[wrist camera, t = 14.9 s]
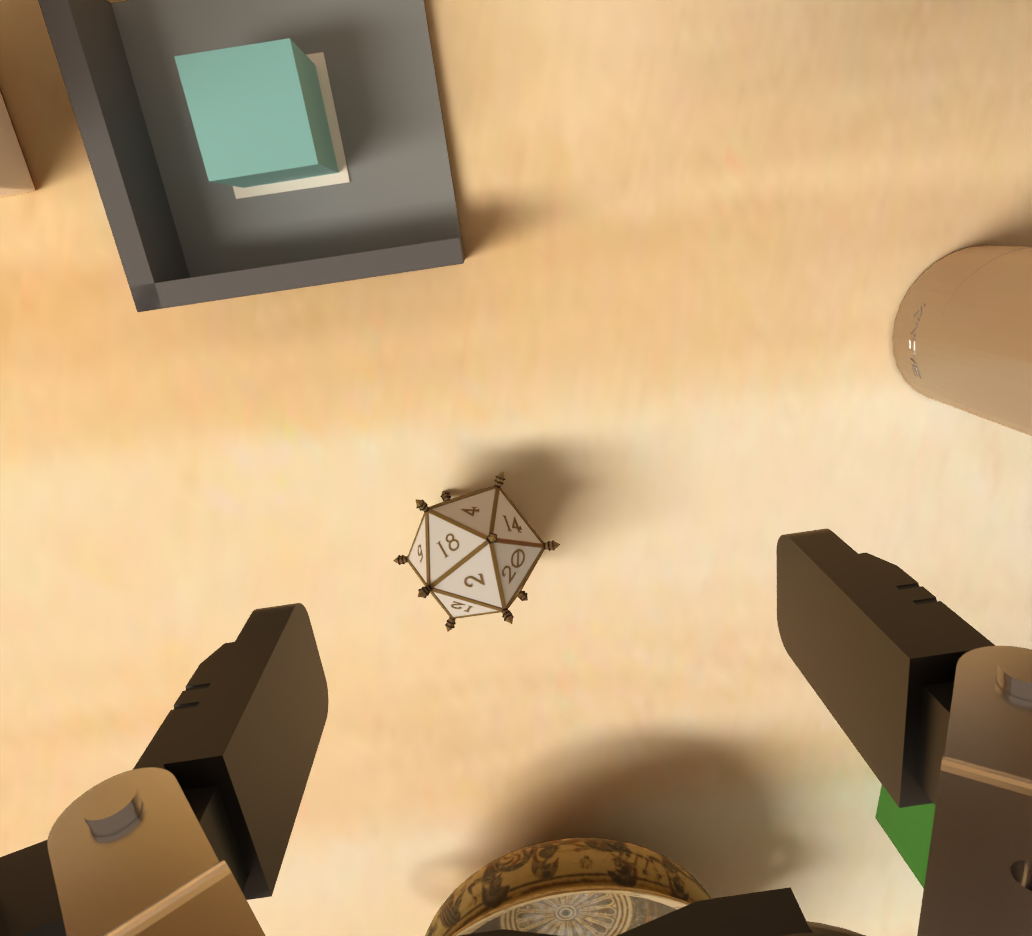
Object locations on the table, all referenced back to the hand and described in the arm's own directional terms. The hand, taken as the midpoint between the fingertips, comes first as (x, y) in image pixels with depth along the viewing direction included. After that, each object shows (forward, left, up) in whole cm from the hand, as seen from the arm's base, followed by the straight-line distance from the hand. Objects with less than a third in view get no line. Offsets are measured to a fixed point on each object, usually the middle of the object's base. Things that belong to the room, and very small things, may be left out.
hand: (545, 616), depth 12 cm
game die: (+3, +11, -30) cm, 32 cm away
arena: (+9, -12, -30) cm, 33 cm away
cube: (+9, -12, -29) cm, 33 cm away
